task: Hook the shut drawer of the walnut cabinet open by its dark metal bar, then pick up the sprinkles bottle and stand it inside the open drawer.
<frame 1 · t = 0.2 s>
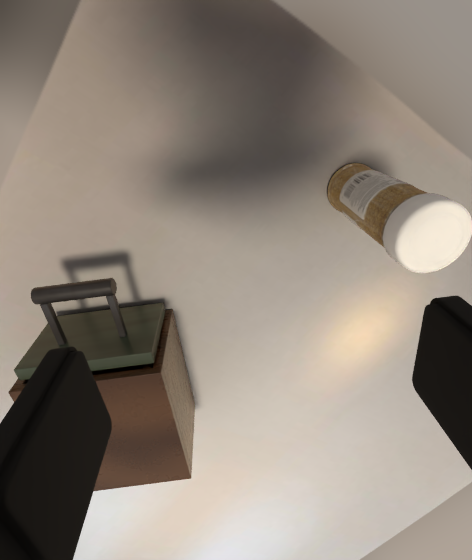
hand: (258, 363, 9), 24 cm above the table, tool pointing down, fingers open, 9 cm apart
drawer: (108, 364, 33), point 5 cm above the table, slide at 0.3 cm
cabinet: (131, 367, 40), on the table
sprinkles bottle: (349, 186, 31), on the table
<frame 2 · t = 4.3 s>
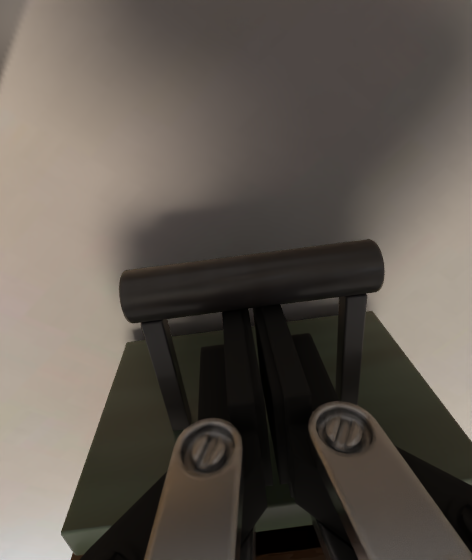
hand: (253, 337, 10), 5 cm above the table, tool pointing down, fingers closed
drawer: (267, 458, 14), point 5 cm above the table, slide at 0.9 cm
cabinet: (262, 440, 21), on the table
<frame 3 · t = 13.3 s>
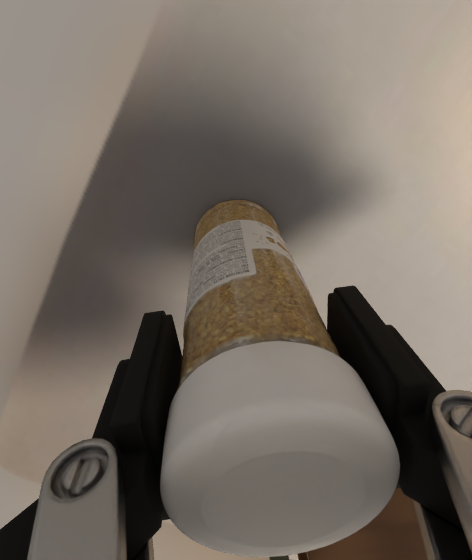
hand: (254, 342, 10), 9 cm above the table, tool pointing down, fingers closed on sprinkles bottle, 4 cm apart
sprinkles bottle: (235, 237, 18), on the table, touching gripper
when the fingers open (11 cm above the table, at t = 20.4 s): sprinkles bottle stays where it is, resting on drawer.
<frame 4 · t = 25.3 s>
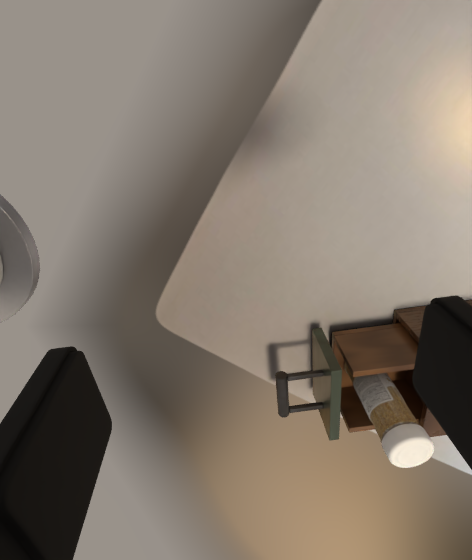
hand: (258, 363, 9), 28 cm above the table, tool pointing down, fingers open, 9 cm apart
drawer: (351, 379, 42), point 5 cm above the table, slide at 9.8 cm, touching sprinkles bottle
cabinet: (441, 340, 47), on the table
sprinkles bottle: (359, 360, 45), point 2 cm above the table, touching drawer
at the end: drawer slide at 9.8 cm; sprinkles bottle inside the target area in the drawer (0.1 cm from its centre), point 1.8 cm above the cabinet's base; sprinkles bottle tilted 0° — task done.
